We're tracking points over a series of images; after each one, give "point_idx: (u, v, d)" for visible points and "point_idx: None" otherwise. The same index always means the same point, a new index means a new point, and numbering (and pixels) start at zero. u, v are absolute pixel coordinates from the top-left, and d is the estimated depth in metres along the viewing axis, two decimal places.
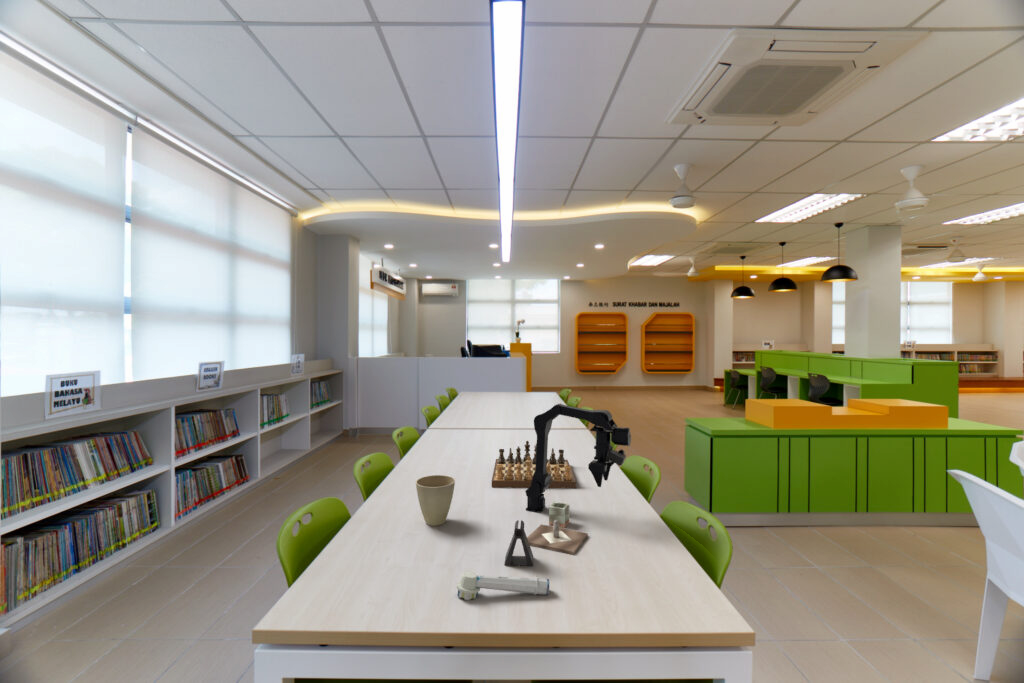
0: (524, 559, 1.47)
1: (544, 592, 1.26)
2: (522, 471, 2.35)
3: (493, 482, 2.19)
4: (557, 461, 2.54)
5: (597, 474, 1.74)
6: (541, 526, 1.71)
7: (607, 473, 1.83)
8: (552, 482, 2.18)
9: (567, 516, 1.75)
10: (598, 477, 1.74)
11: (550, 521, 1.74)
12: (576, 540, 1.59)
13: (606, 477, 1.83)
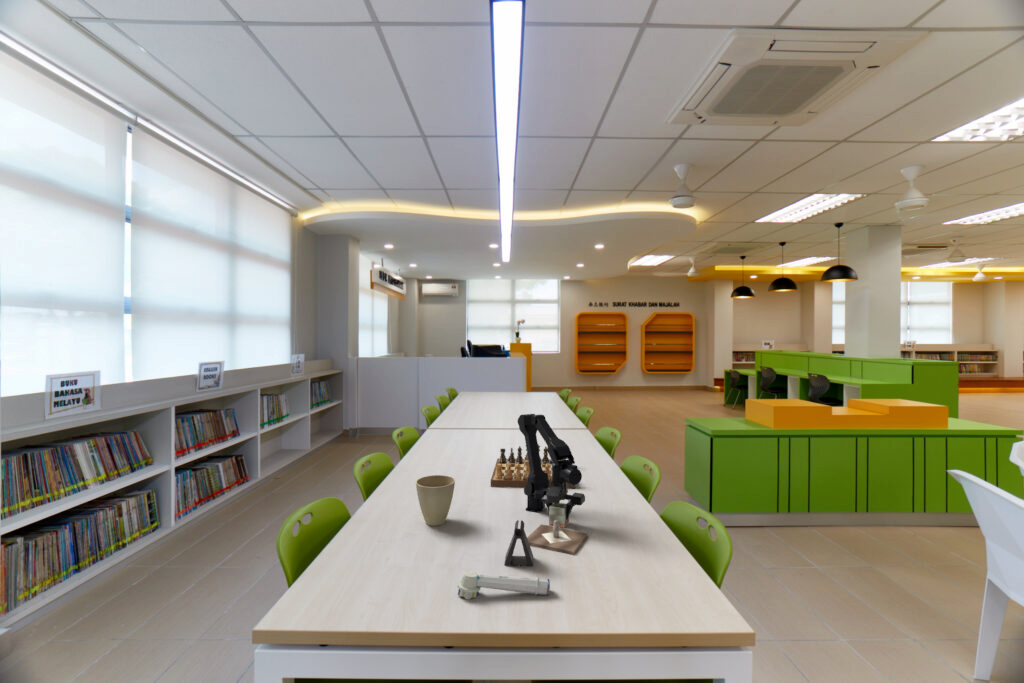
0: (524, 559, 1.47)
1: (544, 592, 1.26)
2: (522, 471, 2.35)
3: (492, 482, 2.20)
4: None
5: None
6: (541, 526, 1.71)
7: None
8: None
9: None
10: None
11: (550, 521, 1.74)
12: (576, 540, 1.59)
13: None
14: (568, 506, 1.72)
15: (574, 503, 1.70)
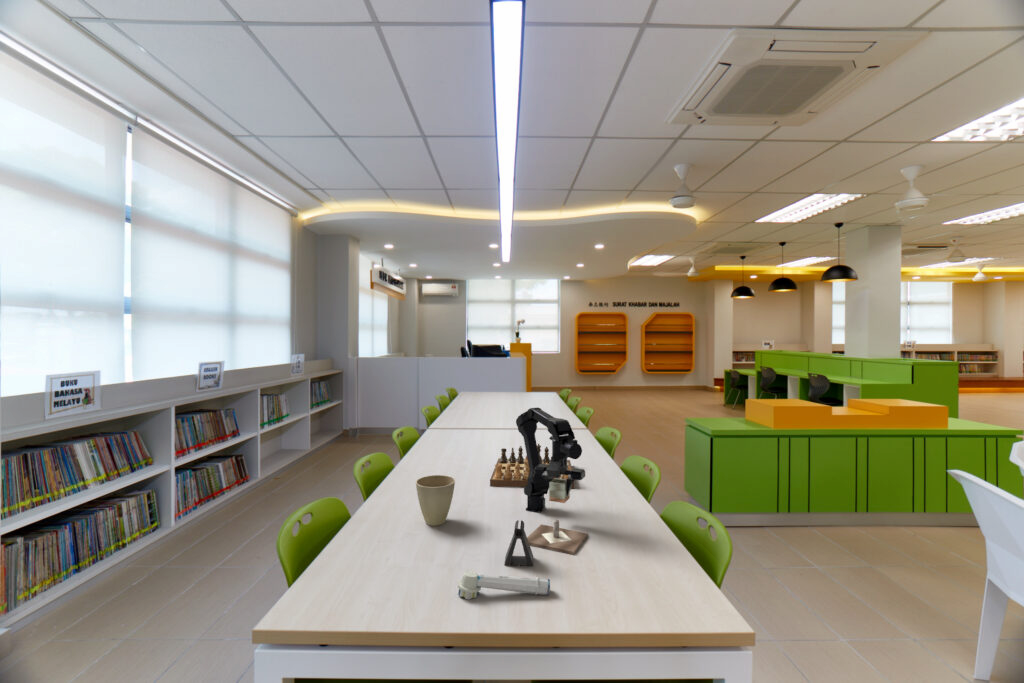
0: (524, 559, 1.47)
1: (545, 592, 1.26)
2: (522, 470, 2.36)
3: (491, 481, 2.20)
4: None
5: None
6: (541, 526, 1.71)
7: None
8: None
9: None
10: None
11: (550, 497, 1.74)
12: (576, 540, 1.59)
13: None
14: (568, 481, 1.72)
15: (574, 478, 1.70)
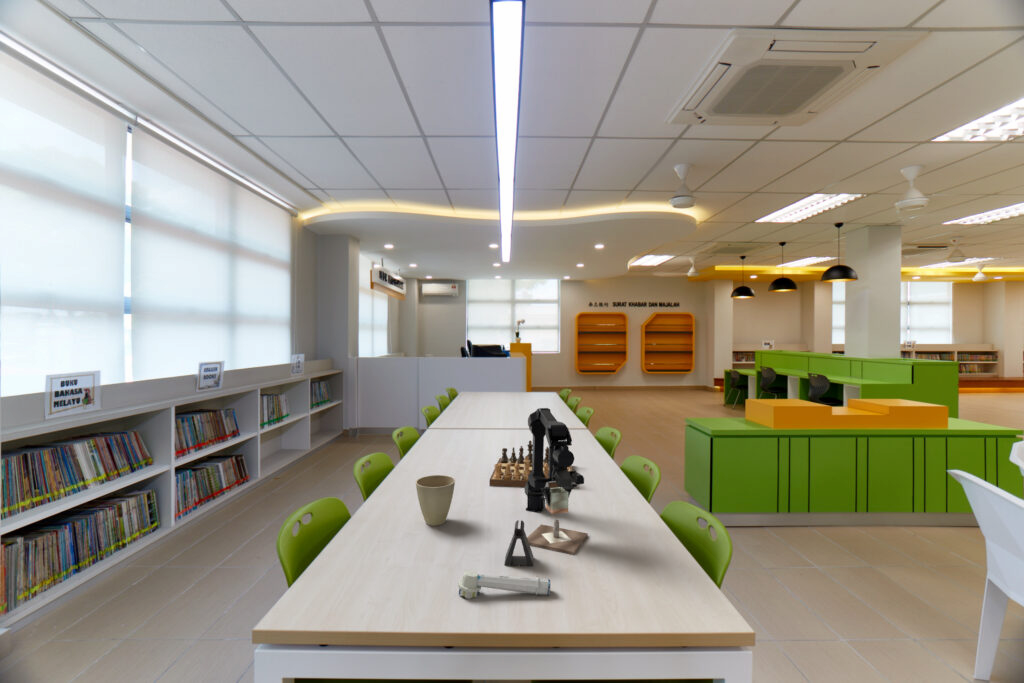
0: (524, 559, 1.47)
1: (545, 592, 1.26)
2: (522, 470, 2.36)
3: (491, 481, 2.21)
4: None
5: (545, 491, 1.61)
6: (541, 526, 1.71)
7: None
8: None
9: None
10: (545, 494, 1.61)
11: (553, 509, 1.59)
12: (576, 540, 1.59)
13: None
14: (571, 488, 1.61)
15: (578, 483, 1.61)
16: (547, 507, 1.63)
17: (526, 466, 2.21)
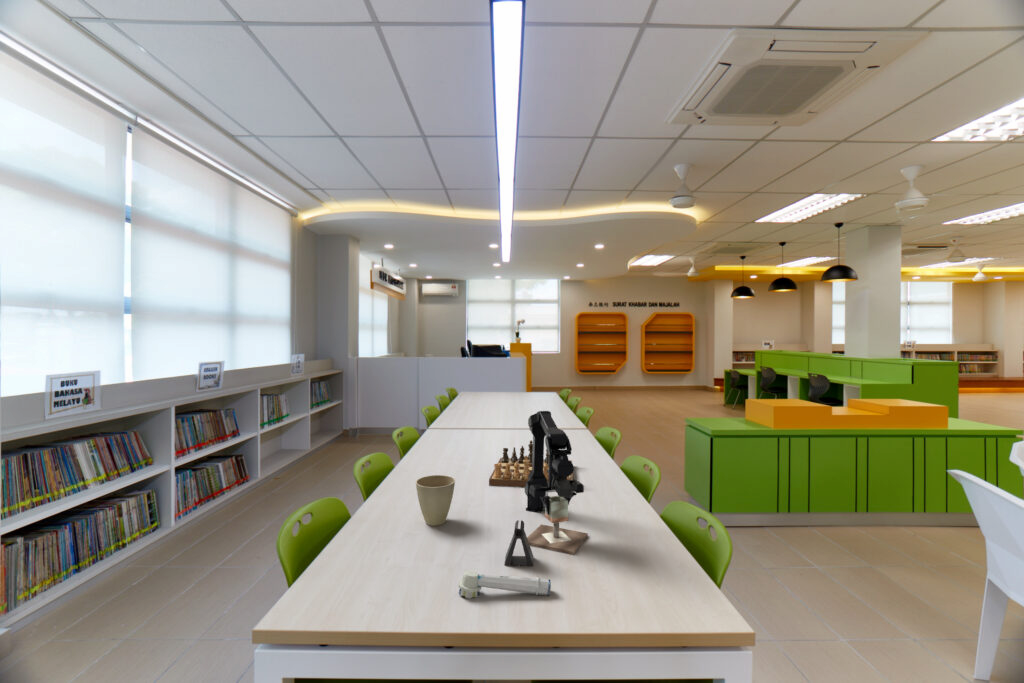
0: (524, 559, 1.47)
1: (545, 592, 1.26)
2: (522, 470, 2.36)
3: (490, 480, 2.21)
4: None
5: None
6: (541, 526, 1.71)
7: None
8: None
9: None
10: (545, 503, 1.60)
11: (553, 518, 1.58)
12: (576, 540, 1.59)
13: None
14: (570, 496, 1.61)
15: (578, 491, 1.61)
16: (546, 516, 1.62)
17: (525, 466, 2.21)
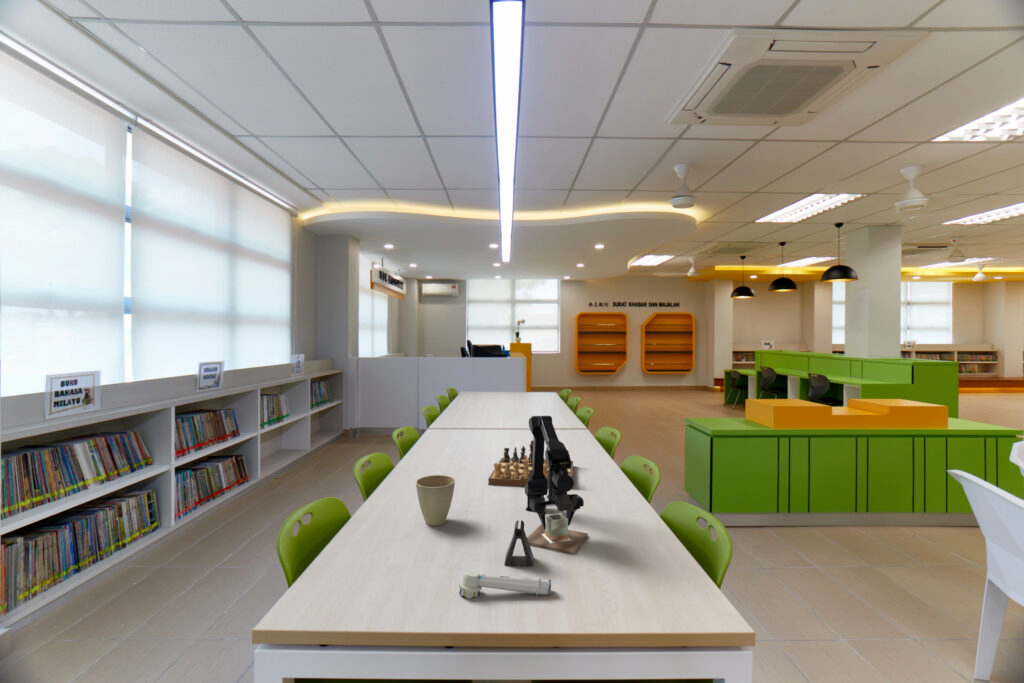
0: (524, 559, 1.47)
1: (546, 592, 1.26)
2: (522, 470, 2.36)
3: (490, 480, 2.22)
4: None
5: (540, 514, 1.60)
6: (541, 526, 1.71)
7: (569, 518, 1.63)
8: None
9: None
10: (541, 518, 1.60)
11: (553, 537, 1.58)
12: (576, 540, 1.59)
13: (568, 522, 1.63)
14: (574, 510, 1.62)
15: (578, 505, 1.61)
16: (546, 534, 1.62)
17: (525, 466, 2.22)
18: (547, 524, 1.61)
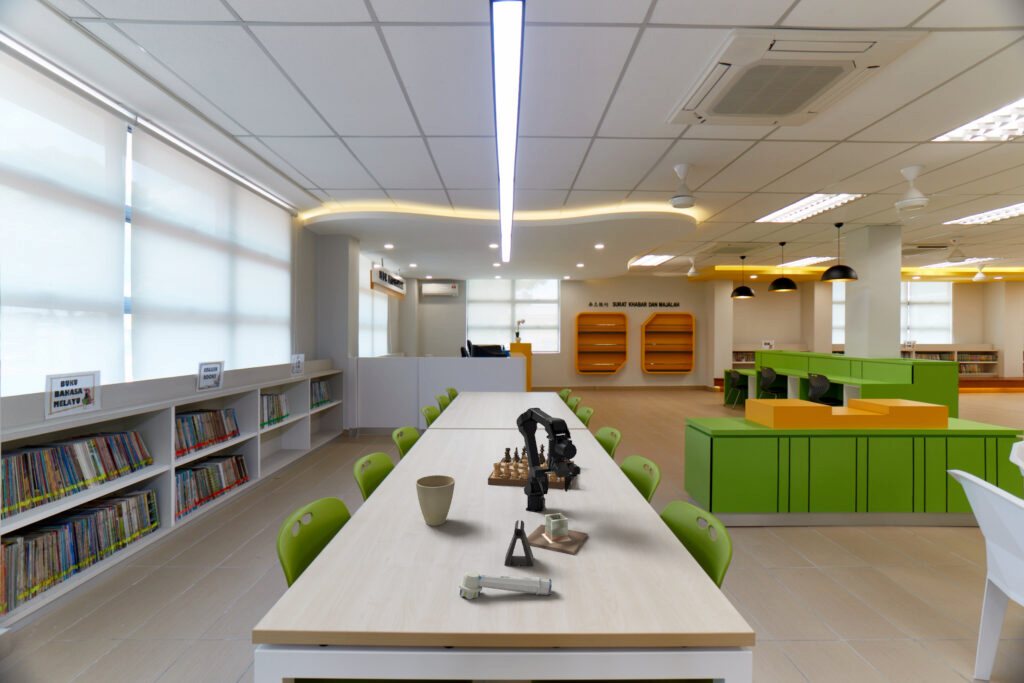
0: (524, 559, 1.47)
1: (546, 592, 1.26)
2: (522, 470, 2.37)
3: (489, 479, 2.23)
4: None
5: (540, 480, 1.75)
6: (541, 526, 1.71)
7: (566, 484, 1.78)
8: None
9: None
10: (541, 483, 1.75)
11: (553, 537, 1.58)
12: (576, 540, 1.59)
13: (565, 488, 1.78)
14: (571, 477, 1.76)
15: (575, 473, 1.76)
16: (546, 534, 1.62)
17: (524, 466, 2.22)
18: (547, 524, 1.61)
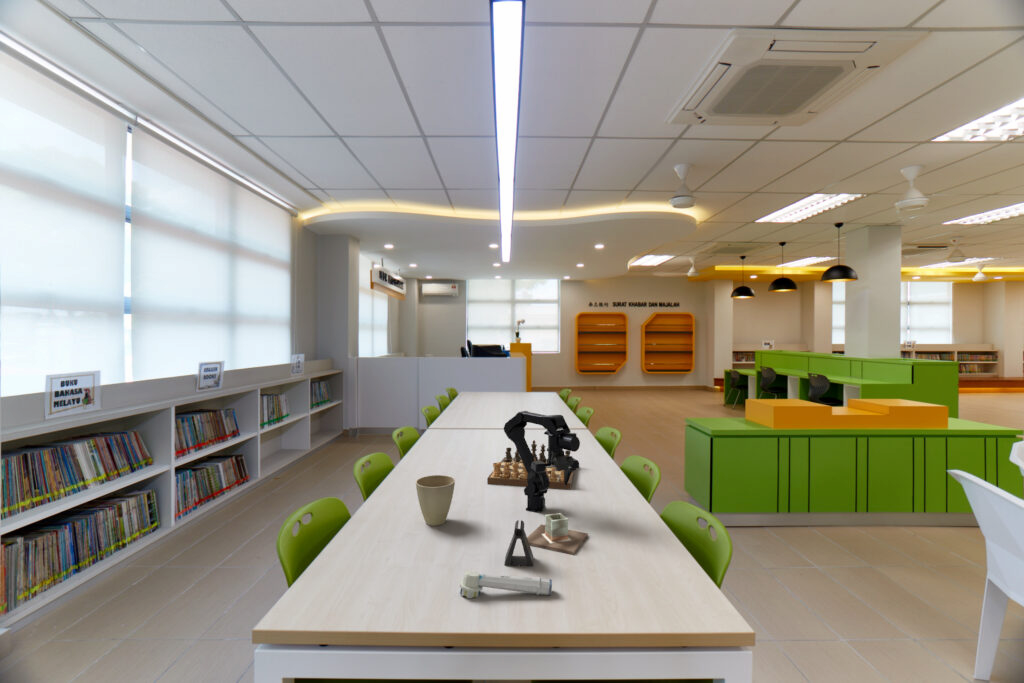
0: (524, 559, 1.47)
1: (546, 592, 1.26)
2: (522, 470, 2.37)
3: (489, 479, 2.23)
4: None
5: (541, 474, 1.82)
6: (541, 526, 1.71)
7: (566, 478, 1.84)
8: None
9: None
10: (541, 477, 1.81)
11: (553, 537, 1.58)
12: (576, 540, 1.59)
13: (565, 482, 1.84)
14: (570, 471, 1.83)
15: (574, 467, 1.82)
16: (546, 534, 1.62)
17: (523, 465, 2.22)
18: (547, 524, 1.61)
